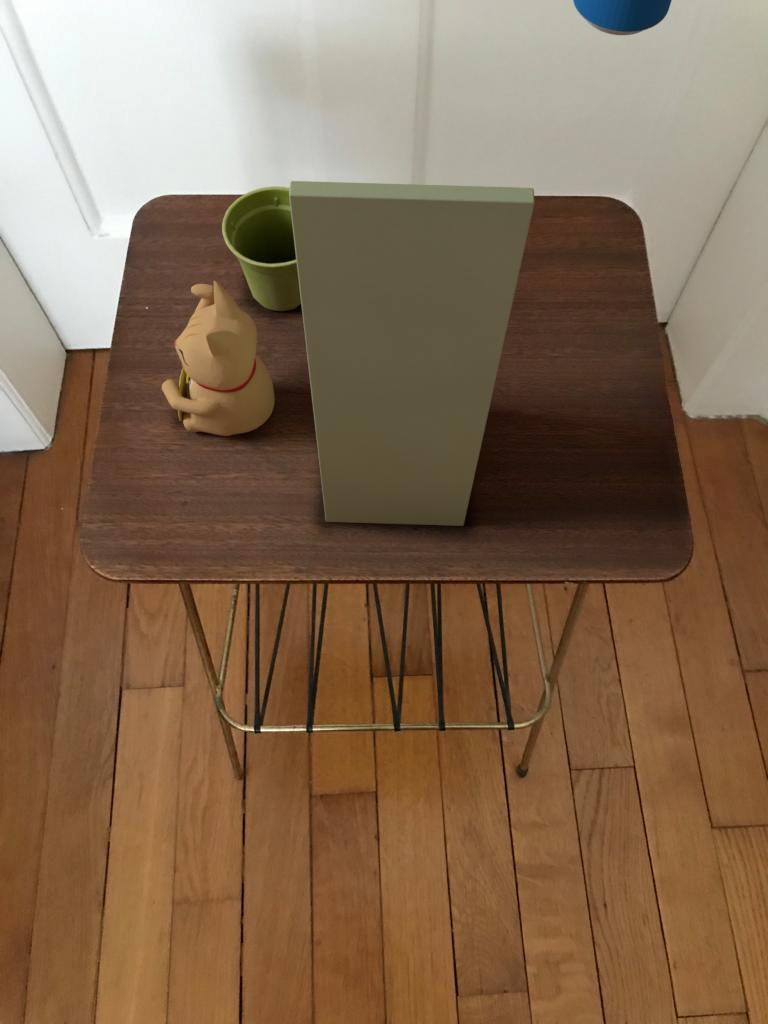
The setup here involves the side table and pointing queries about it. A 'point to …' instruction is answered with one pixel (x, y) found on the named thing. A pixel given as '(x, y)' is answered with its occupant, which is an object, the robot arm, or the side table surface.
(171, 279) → the side table surface
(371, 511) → the shelf
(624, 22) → the beverage can
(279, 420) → the side table surface
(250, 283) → the plant pot
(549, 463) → the side table surface
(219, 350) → the figurine
